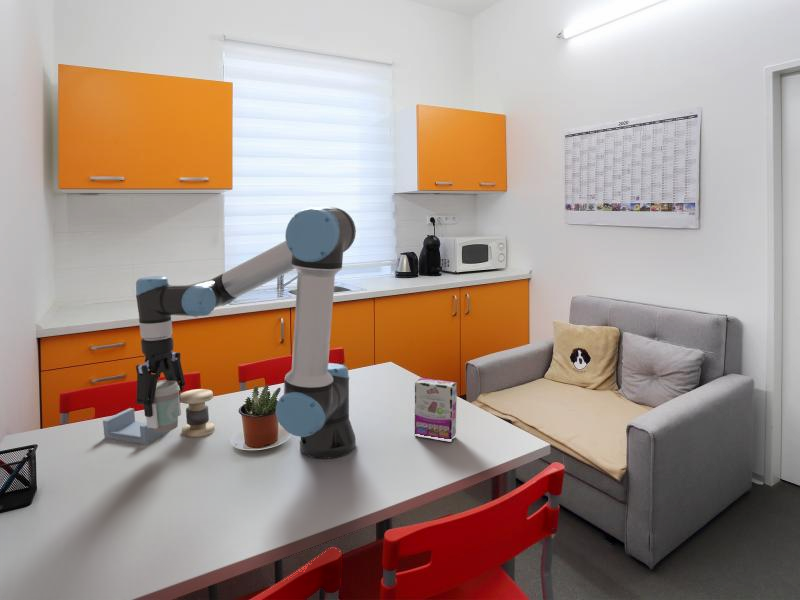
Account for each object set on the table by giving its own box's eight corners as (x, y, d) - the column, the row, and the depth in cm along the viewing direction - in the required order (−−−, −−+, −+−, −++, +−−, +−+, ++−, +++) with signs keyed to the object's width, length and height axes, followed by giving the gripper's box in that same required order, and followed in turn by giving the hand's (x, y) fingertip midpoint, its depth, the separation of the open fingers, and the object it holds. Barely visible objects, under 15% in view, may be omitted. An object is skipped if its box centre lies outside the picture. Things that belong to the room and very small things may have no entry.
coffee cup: (170, 435, 139) (166, 390, 137) (141, 433, 141) (136, 388, 138) (189, 422, 147) (185, 379, 145) (161, 420, 149) (157, 378, 147)
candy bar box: (456, 436, 156) (457, 381, 153) (451, 443, 151) (452, 387, 148) (419, 430, 160) (420, 376, 157) (413, 437, 155) (414, 381, 152)
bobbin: (221, 427, 161) (219, 390, 159) (201, 439, 153) (199, 401, 151) (195, 423, 164) (192, 387, 162) (174, 435, 155) (172, 397, 153)
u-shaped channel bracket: (131, 424, 162) (129, 408, 161) (170, 430, 158) (169, 413, 158) (104, 438, 153) (102, 420, 152) (145, 444, 149) (144, 426, 148)
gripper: (172, 327, 150) (179, 405, 154) (113, 346, 131) (122, 435, 134) (195, 328, 148) (201, 408, 152) (138, 348, 129) (147, 438, 132)
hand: (164, 420), depth 143 cm, fingers closed on coffee cup, 8 cm apart
